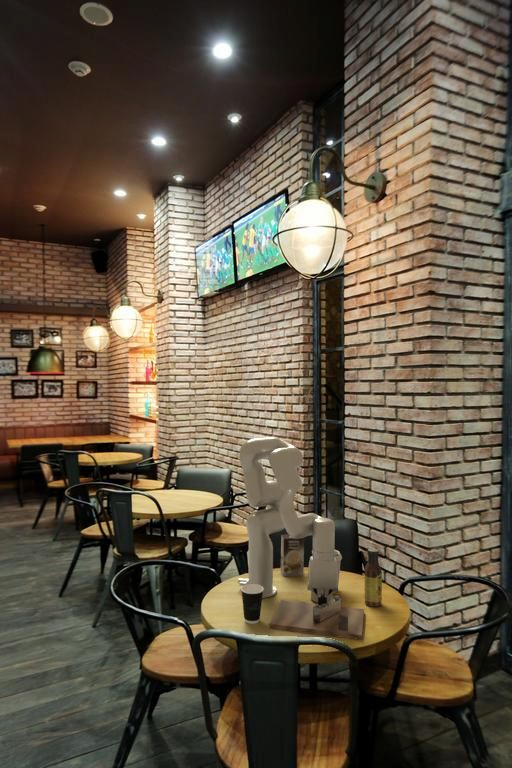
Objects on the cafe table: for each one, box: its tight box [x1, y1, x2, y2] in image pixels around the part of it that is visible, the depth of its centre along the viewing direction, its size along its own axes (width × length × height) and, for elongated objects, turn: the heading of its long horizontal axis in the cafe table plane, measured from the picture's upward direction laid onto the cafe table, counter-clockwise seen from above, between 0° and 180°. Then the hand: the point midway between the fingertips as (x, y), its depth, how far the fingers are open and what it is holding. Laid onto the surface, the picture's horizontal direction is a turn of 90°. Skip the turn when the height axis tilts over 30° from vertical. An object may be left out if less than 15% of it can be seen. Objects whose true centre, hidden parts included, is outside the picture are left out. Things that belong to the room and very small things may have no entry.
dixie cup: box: [240, 584, 264, 625], centre depth 174 cm, size 8×8×11 cm
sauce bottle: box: [364, 548, 383, 608], centre depth 188 cm, size 7×6×20 cm
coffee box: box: [280, 534, 305, 577], centre depth 220 cm, size 9×6×16 cm
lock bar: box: [313, 594, 342, 623], centre depth 173 cm, size 14×2×5 cm, turn 135°
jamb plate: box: [268, 599, 365, 640], centre depth 174 cm, size 30×20×6 cm, turn 76°
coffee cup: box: [332, 549, 343, 594], centre depth 201 cm, size 10×10×15 cm
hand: (322, 607), depth 177 cm, fingers closed
